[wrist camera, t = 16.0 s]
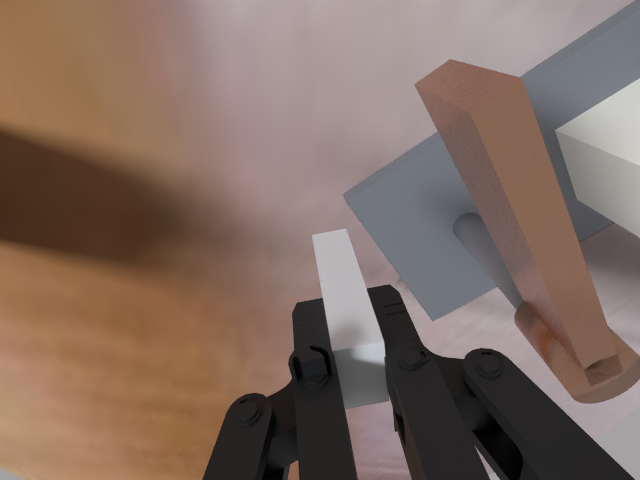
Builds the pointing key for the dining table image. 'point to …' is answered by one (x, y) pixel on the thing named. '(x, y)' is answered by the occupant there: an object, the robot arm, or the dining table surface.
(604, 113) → the sleeve
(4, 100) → the dining table surface
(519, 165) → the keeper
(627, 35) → the base plate
